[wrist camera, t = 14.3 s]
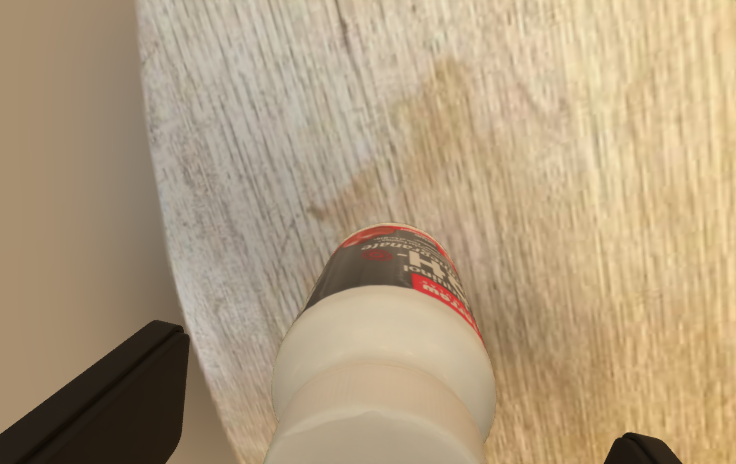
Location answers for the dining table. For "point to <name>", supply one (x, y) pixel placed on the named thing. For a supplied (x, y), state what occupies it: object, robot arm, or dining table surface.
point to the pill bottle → (383, 360)
